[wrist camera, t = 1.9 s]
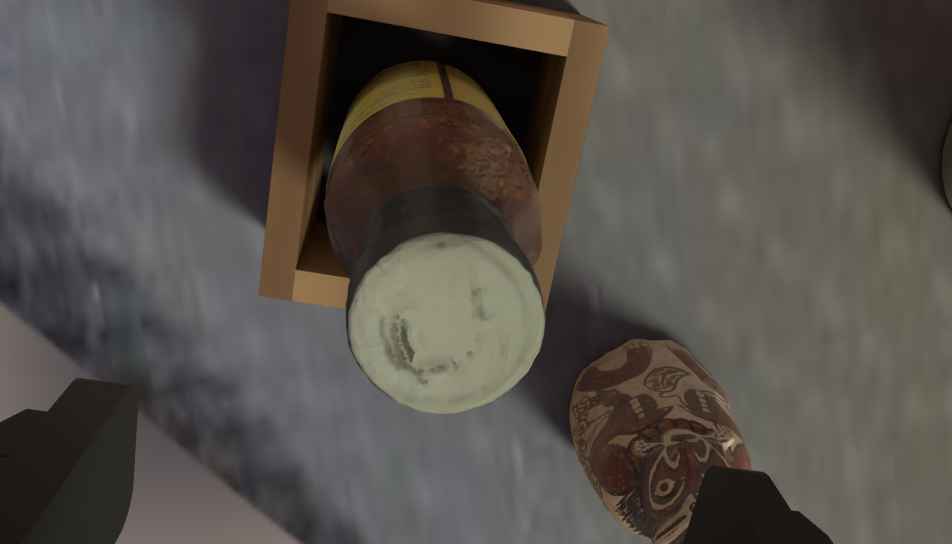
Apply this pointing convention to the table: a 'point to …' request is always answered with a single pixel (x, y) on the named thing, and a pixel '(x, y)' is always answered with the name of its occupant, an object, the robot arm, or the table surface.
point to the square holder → (309, 106)
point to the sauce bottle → (436, 240)
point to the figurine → (652, 434)
